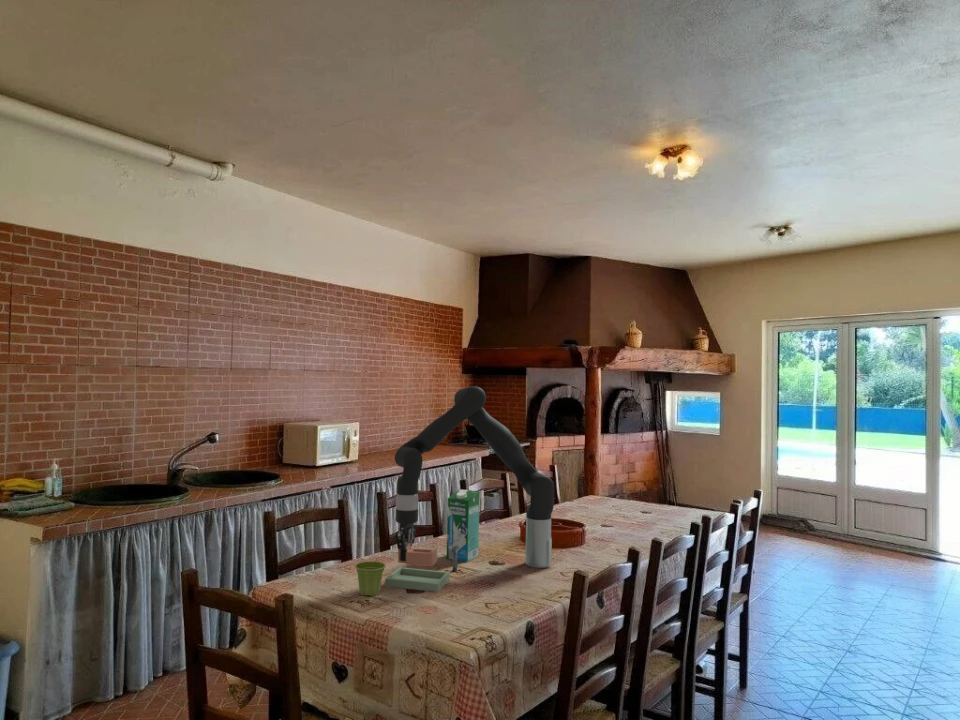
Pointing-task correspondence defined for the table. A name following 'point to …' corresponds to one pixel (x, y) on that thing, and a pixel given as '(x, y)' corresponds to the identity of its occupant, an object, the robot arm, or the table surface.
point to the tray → (417, 579)
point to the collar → (419, 556)
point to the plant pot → (370, 577)
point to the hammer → (455, 557)
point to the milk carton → (463, 524)
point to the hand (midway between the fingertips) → (405, 559)
